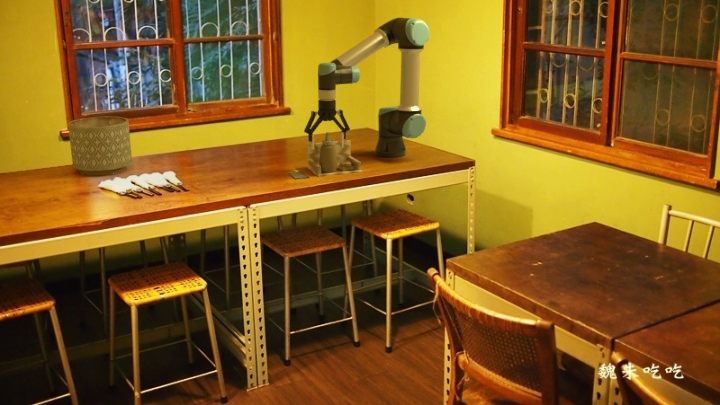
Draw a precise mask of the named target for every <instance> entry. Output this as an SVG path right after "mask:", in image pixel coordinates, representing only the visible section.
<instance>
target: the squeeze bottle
mask: <svg viewBox="0 0 720 405" xmlns="http://www.w3.org/2000/svg"><path fill="white" fill-rule="evenodd" d="M333 142H334V140H331V135H330V133H329V132H326V133H325V138H324V140H322V142H321V143H323V145H322V146H321V148H320V160H319V165H320V166H321V173H323V174H327V173H336V171H337V170H336V169H337V158H336V149H335V146H334V145H333Z"/></svg>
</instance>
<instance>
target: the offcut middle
mask: <svg viewBox="0 0 720 405" xmlns="http://www.w3.org/2000/svg"><path fill="white" fill-rule="evenodd" d="M338 169H339V170H340V171H341V172H347V171H350V170H353V171H355V170H354V167H353V166H351V167H346V168H342V166H341V165H339V166H338Z"/></svg>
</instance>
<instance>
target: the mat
mask: <svg viewBox="0 0 720 405" xmlns="http://www.w3.org/2000/svg"><path fill="white" fill-rule="evenodd" d="M287 173H288V175H290V176H291V177H292V178H293V179H295V180H303V179H311V177H310V176H308V175H306V174H305V173H303V172H302V171H299V170H298V171H290V172H287Z"/></svg>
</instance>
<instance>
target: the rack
mask: <svg viewBox="0 0 720 405" xmlns="http://www.w3.org/2000/svg"><path fill="white" fill-rule="evenodd" d="M351 143H352V142H351V139H350V140H344V147H341V146H340V140H339V141H337V140H336V141H333V145H334V146H335V149H336V158H337V167H338V168H339V165H340V162H346V161H349V162H350V163H351V166H353V167H354V170H353V171H339V172H332V173H322V172H321V166H320V165H319V160H320V148H321V146H322V145H323V142H314V149H313V150H312V149H311V143H307V144H306V152H307V154H306V156H307V159H306V160H307V161H306V162H307V170H309V171H310V172H312V173H313V174H314V175H316V176H317V177H319V178H320V177H329V176H330V177H331V176H340V175H349V174H351V175H352V174H359V173H363V170H362V161H360V160H358V159H357V158H355V157H353V156H352V155H351V151H352V150H351V147H352V146H351ZM337 167H336V168H337Z"/></svg>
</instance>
